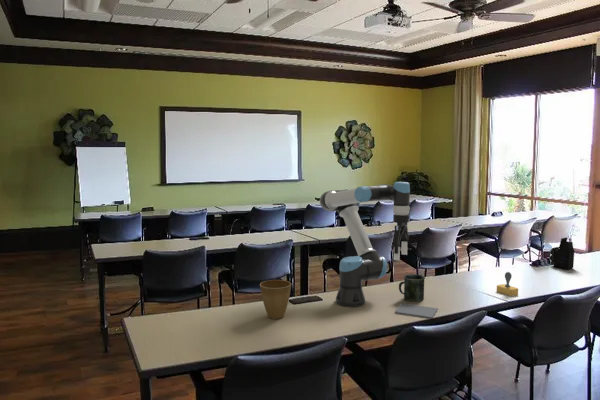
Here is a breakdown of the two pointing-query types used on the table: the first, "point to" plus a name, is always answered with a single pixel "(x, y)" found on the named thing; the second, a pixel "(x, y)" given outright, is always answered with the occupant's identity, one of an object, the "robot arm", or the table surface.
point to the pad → (416, 310)
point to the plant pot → (275, 297)
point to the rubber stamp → (507, 286)
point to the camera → (563, 255)
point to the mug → (413, 287)
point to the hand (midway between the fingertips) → (400, 257)
